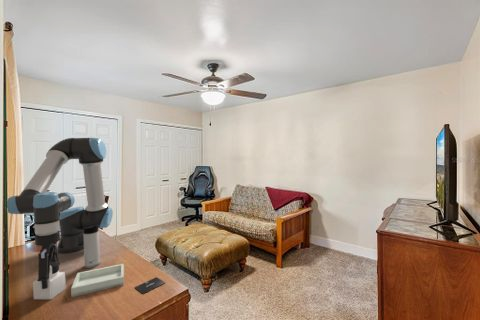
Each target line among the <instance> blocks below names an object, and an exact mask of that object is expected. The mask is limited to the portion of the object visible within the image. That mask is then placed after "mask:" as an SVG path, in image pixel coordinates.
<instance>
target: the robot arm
mask: <svg viewBox="0 0 480 320" xmlns="http://www.w3.org/2000/svg"><path fill="white" fill-rule="evenodd" d="M45 157H46V158H45V159H44V160H43V162H41V163H42V164H41V165H40V166H39V168H38V169H37V170H36V171H35V173H34V175H32V177H31V178H30V180H28V182H27V184H26V186H25V187H24V188H23V190H22V191H21V193H20V194H19V195H12V196H11V197H10V196H9V198H7V199H6V201H7V208H8V212H7V213H8V214H11V215H24V214H33V218H34V219H33V220H34V222H33V223H34V224H33V226H32V228H33V229H34V234H35V235H34V241H35V242H34V243H35V244H34V245H35V246H38V247H41V249H40V252H39V253H38V273H37V275H38V276H37V277H38V278H36V279H37V281H40V282H41V297H45V296H50V295H51V286H50V278H49V272H50V262H58V263H59V265H60V263H61V262H59V254H58V253H60V254H68V253H70V254H71V253H76V252H78V251H81V250H84V236H83V235H84V234H83V233H84V231H83V228H85V227H88V226H91V225H98V229H105V228H106V229H107V228H108V227H110V225H111V222H112V219H113V214H114V213H113V211H114V210H113V208H112V207H109V204H108V203H107V202H106V200H105V191H104V185H103V184H104V182H103V174H102V172H103V171H102V165H101V164H102V163H103V162H104V159H106V158H107V147H106V144H105V143H104V141H103V140H102V139H101V138H98V137H70V138H69V137H68V138H65V139H62V140H60V141H58V142H57V143H55V144H54V145H52V146H51V147H50V148H49V149H48V151H47V152H46V153H45ZM70 160H78V163H79V164H80V165H81V166H82V169H83V178H84V179H83V180H84V185H85V193H86V201H87V206H86V207H84V206H77V207H75V206H74V207H73V205H74V204H75V203H76V202H75V201H76V200H75V196H74V195H73V194H72V193H70V192H60V193H57V192H54V191H51V192H50V191H48V190H49V188H50V187H51V185H52V183H53V182H54V180H55V178H56V177H57V175H58V173H59V171H61V169H62V167H63V166H64V165H65V164H67V163H68V161H70ZM47 191H48V192H47Z"/></svg>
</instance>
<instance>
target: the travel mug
mask: <svg viewBox="0 0 480 320" xmlns="http://www.w3.org/2000/svg"><path fill="white" fill-rule="evenodd" d="M83 231H84V233H83V234H84V235H83V236H84V249H83V255H84V256H83V257H84V258H83V259H84V268H85V269H93V268H96V267H98V266H99V265H100V260H101V259H100V234H99V228H98V225H91V226H88V227H85V228H83Z"/></svg>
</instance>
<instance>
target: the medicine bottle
mask: <svg viewBox="0 0 480 320" xmlns="http://www.w3.org/2000/svg"><path fill="white" fill-rule="evenodd" d="M58 262H59V261H58ZM58 262H50V272H49V278H50V286H51V295H50V296H45V297H41V282H40V281H37V279H38V278H36V279H35V280H33V282H32V287H33V289H32V290H33V291H32V292H33V300H53V299H54V298H56V296H57V295H59V294H61V293H62V292H63V291H65V290H66V289H67V288H66V273H65V271H60V264H59V263H58ZM57 297H58V296H57Z"/></svg>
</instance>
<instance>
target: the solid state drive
mask: <svg viewBox="0 0 480 320" xmlns="http://www.w3.org/2000/svg"><path fill="white" fill-rule="evenodd" d="M165 284H166V282H165V281H164V280H162V279H160V278H158V277H157V276H156V277H154V278H152V279H150V280H147V281H145V282H143V283H141V284H139V285H137V286H135V287H134V289H135V290H136V291H137V292H138V293H140V294H141V295H144V294H146V293H149V292H151V291H153V290H155V289H157V288H158V287H161V286H163V285H165Z"/></svg>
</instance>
